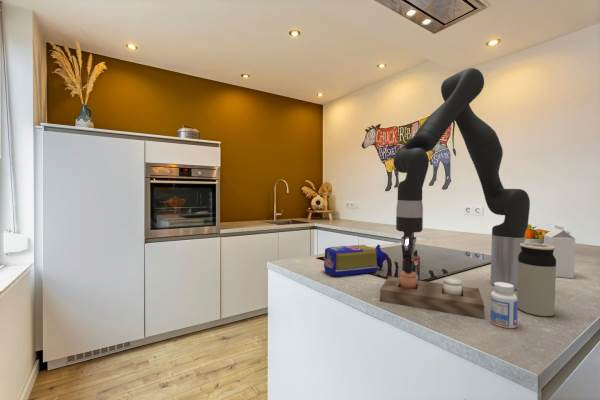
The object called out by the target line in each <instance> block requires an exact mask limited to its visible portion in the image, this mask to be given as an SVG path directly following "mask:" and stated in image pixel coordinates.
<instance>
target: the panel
mask: <svg viewBox="0 0 600 400" xmlns="http://www.w3.org/2000/svg"><path fill="white" fill-rule="evenodd" d="M481 294H482V293H481V292H480V289H479V288H478V287H469V286H464V285H462V296H455V295H448V294H444V283H439V282H433V281H427V280H426V281H424V280H419V281H418V280H416V290H414V289H408V288H401V287H400V277H394V276H387V278H386V280H385V281H384V282H383V284H382V286H381V287H380V290H379V300H380V302H384V303H390V304H395V305H396V304H397V305H403V306H408V307H413V308H419V309H425V310H430V311H431V310H432V311H438V312H442V313H443V312H444V313H449V314H455V315H461V316H467V317H471V318H479V319H485V315H484V314H485V304H484V302H483V301H484V300H483V298H482V295H481Z"/></svg>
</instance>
